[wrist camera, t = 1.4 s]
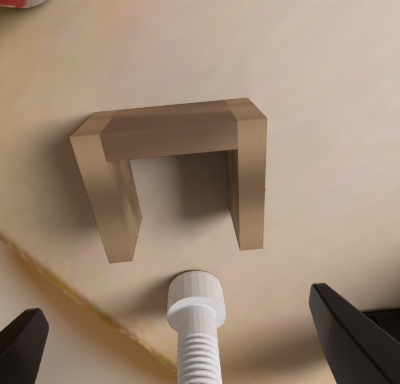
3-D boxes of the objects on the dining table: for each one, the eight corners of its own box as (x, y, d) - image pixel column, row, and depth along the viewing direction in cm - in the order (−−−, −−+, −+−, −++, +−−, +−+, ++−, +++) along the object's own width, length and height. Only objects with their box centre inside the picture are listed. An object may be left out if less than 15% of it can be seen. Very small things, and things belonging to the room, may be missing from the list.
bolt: (200, 312, 29) (158, 293, 27) (232, 282, 27) (189, 260, 26) (215, 562, 15) (133, 554, 14) (281, 536, 14) (196, 522, 12)
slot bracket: (248, 207, 23) (262, 248, 19) (123, 219, 23) (109, 263, 19) (247, 97, 19) (267, 118, 15) (95, 112, 19) (69, 137, 15)
